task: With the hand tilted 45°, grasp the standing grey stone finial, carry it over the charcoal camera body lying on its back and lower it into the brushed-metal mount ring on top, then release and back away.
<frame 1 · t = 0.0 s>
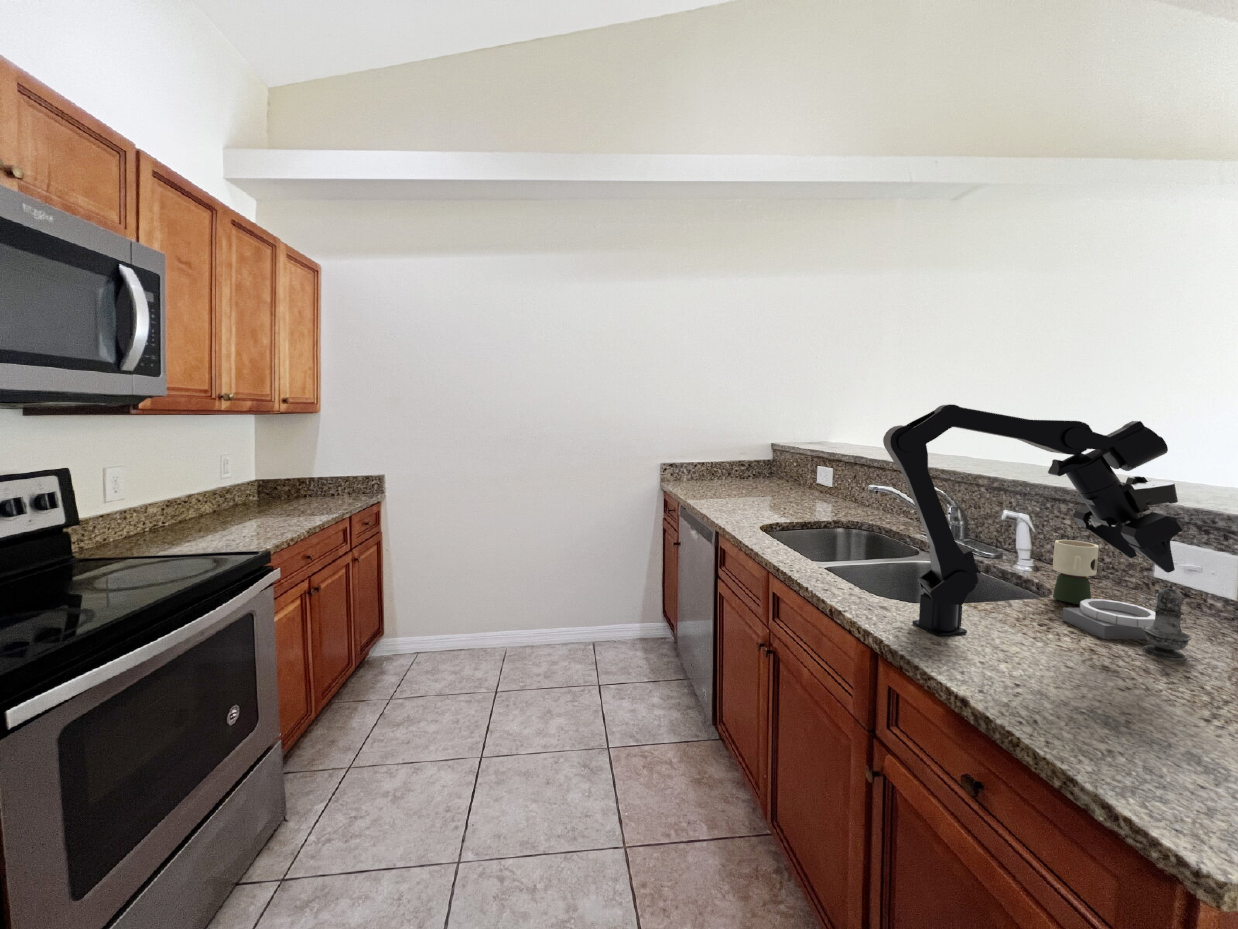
hand: (1151, 563, 91), 15 cm above the table, tool tilted 35°, fingers open, 9 cm apart
grey stone finial: (1164, 654, 90), on the table
character mug: (1071, 603, 115), on the table
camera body: (1116, 629, 100), on the table
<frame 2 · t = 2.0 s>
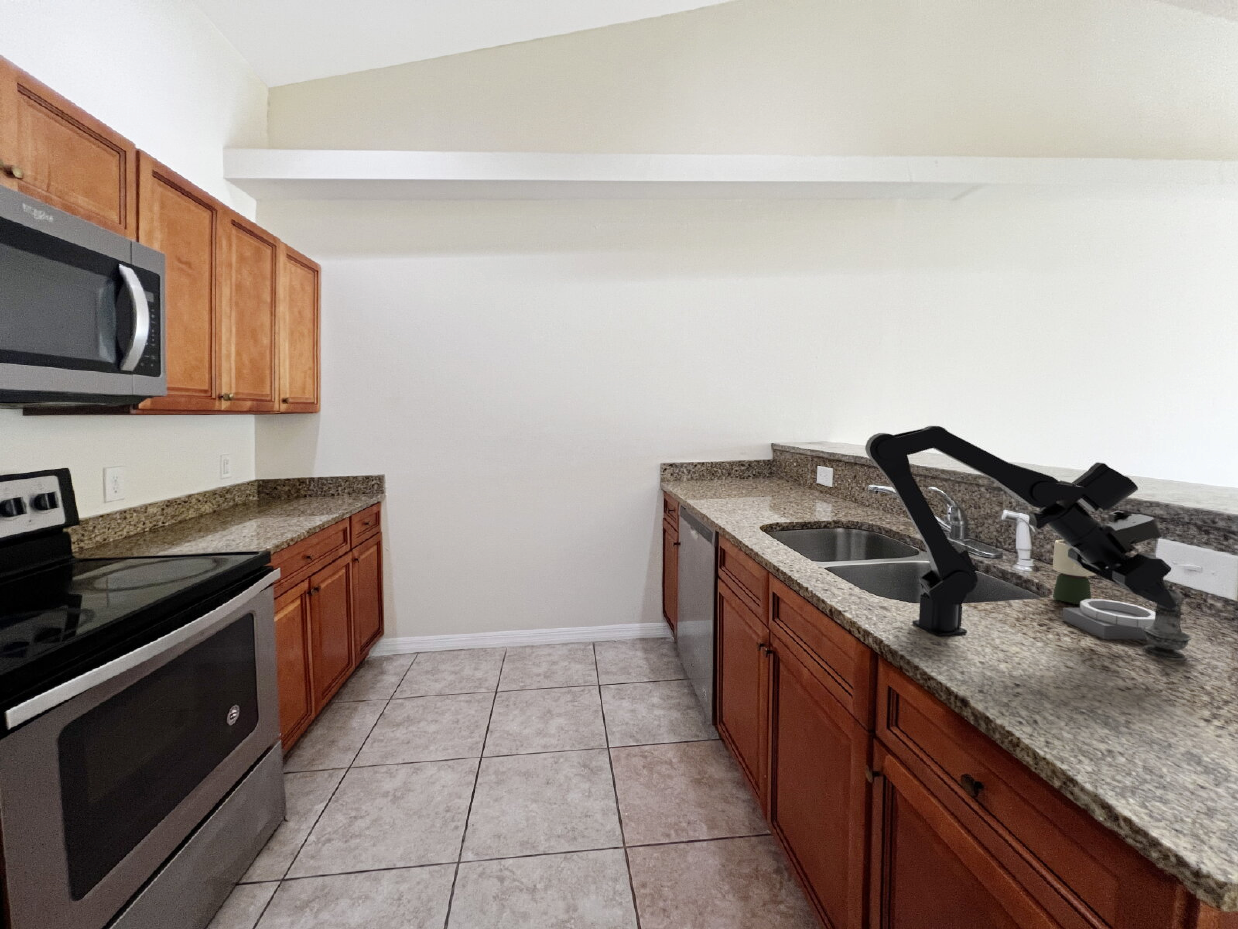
hand: (1154, 598, 90), 9 cm above the table, tool tilted 45°, fingers open, 9 cm apart
nothing on the table moved.
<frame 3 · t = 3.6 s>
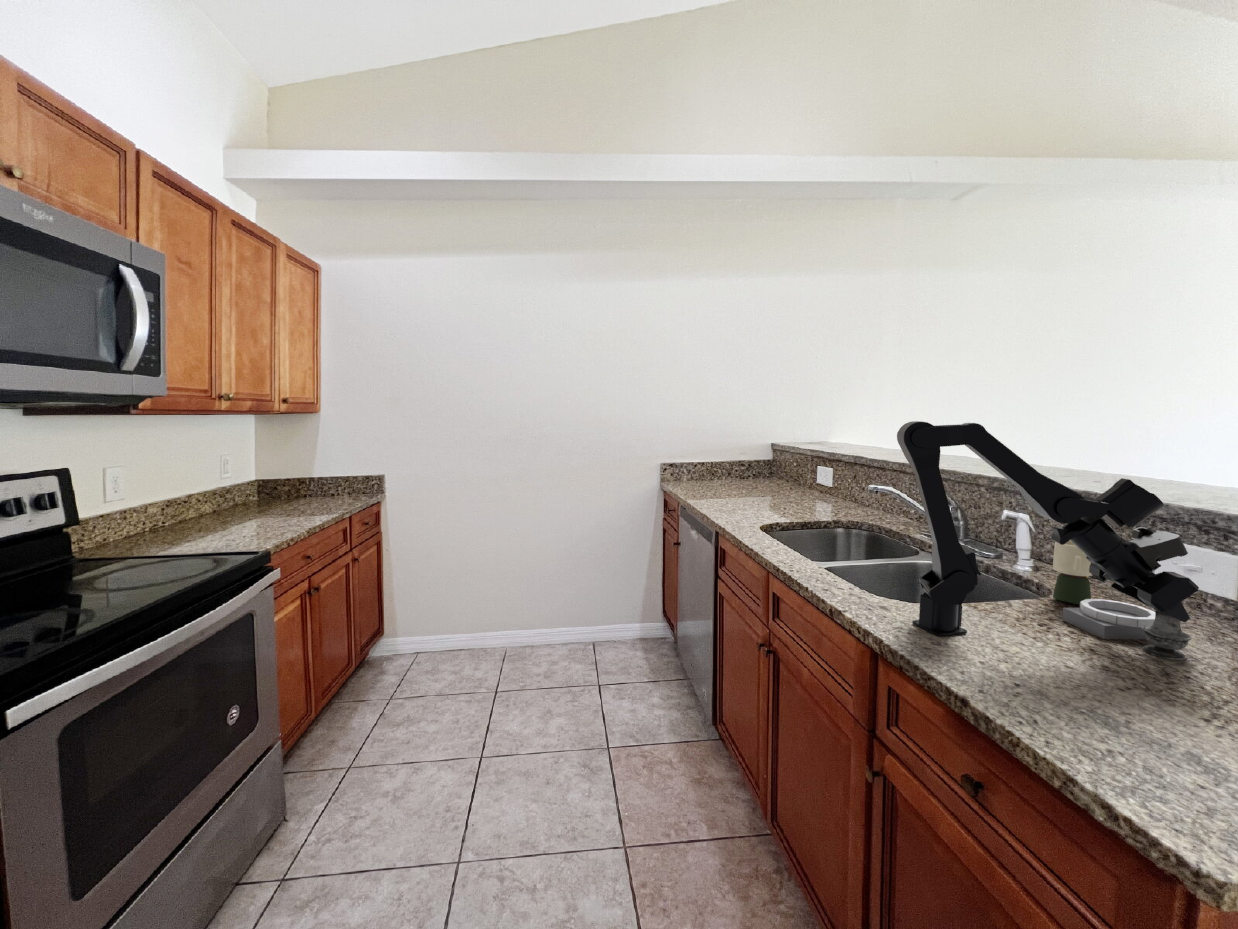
hand: (1178, 616, 89), 7 cm above the table, tool tilted 45°, fingers closed on grey stone finial, 3 cm apart
grey stone finial: (1164, 654, 90), on the table, touching gripper
everything else where it was.
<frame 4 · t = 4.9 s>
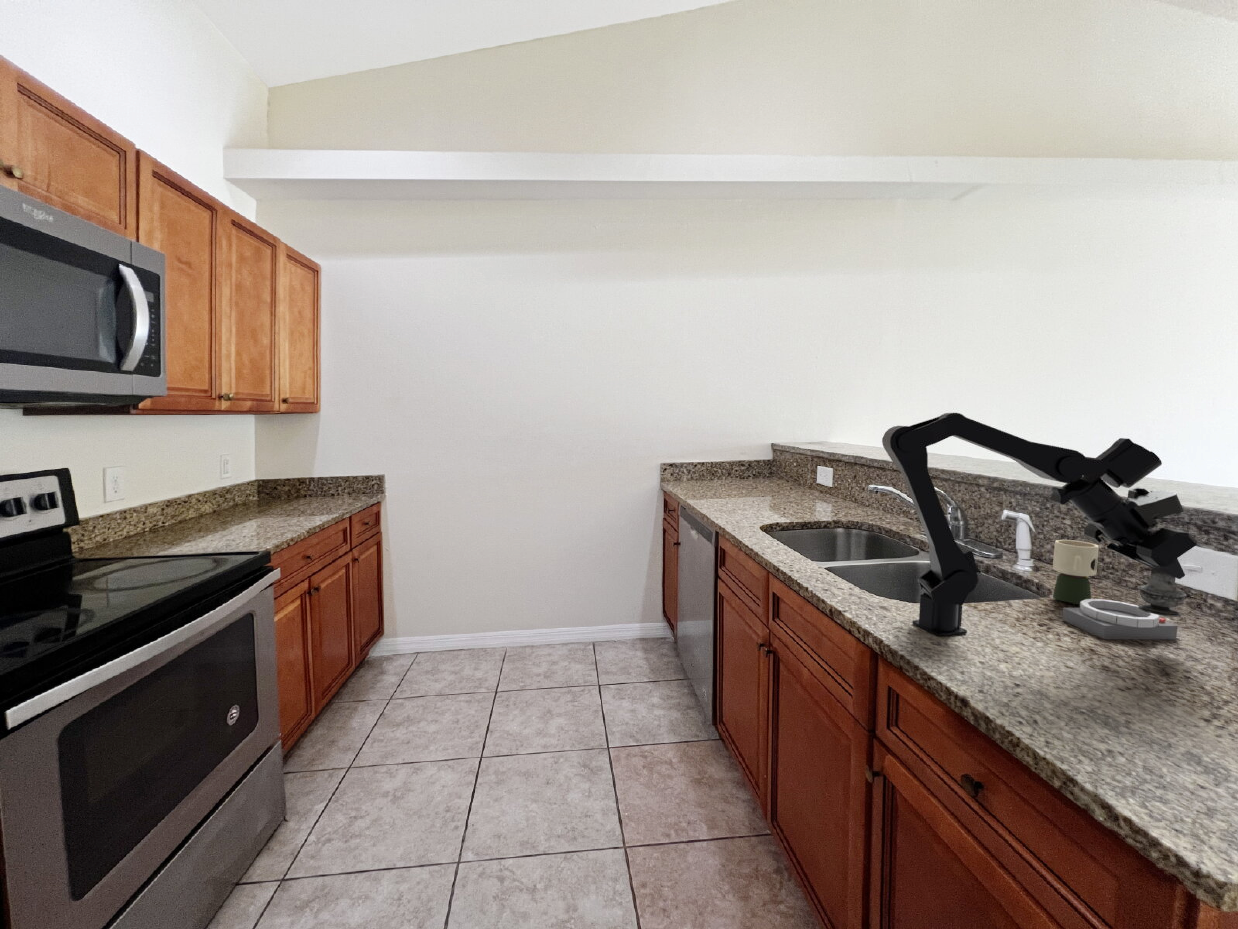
hand: (1172, 573, 90), 13 cm above the table, tool tilted 45°, fingers closed on grey stone finial, 4 cm apart
grey stone finial: (1159, 612, 91), point 6 cm above the table, touching gripper
everything else where it was.
when the fingers open (10 cm above the table, at t = 6.5 s): grey stone finial stays where it is, resting on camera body.
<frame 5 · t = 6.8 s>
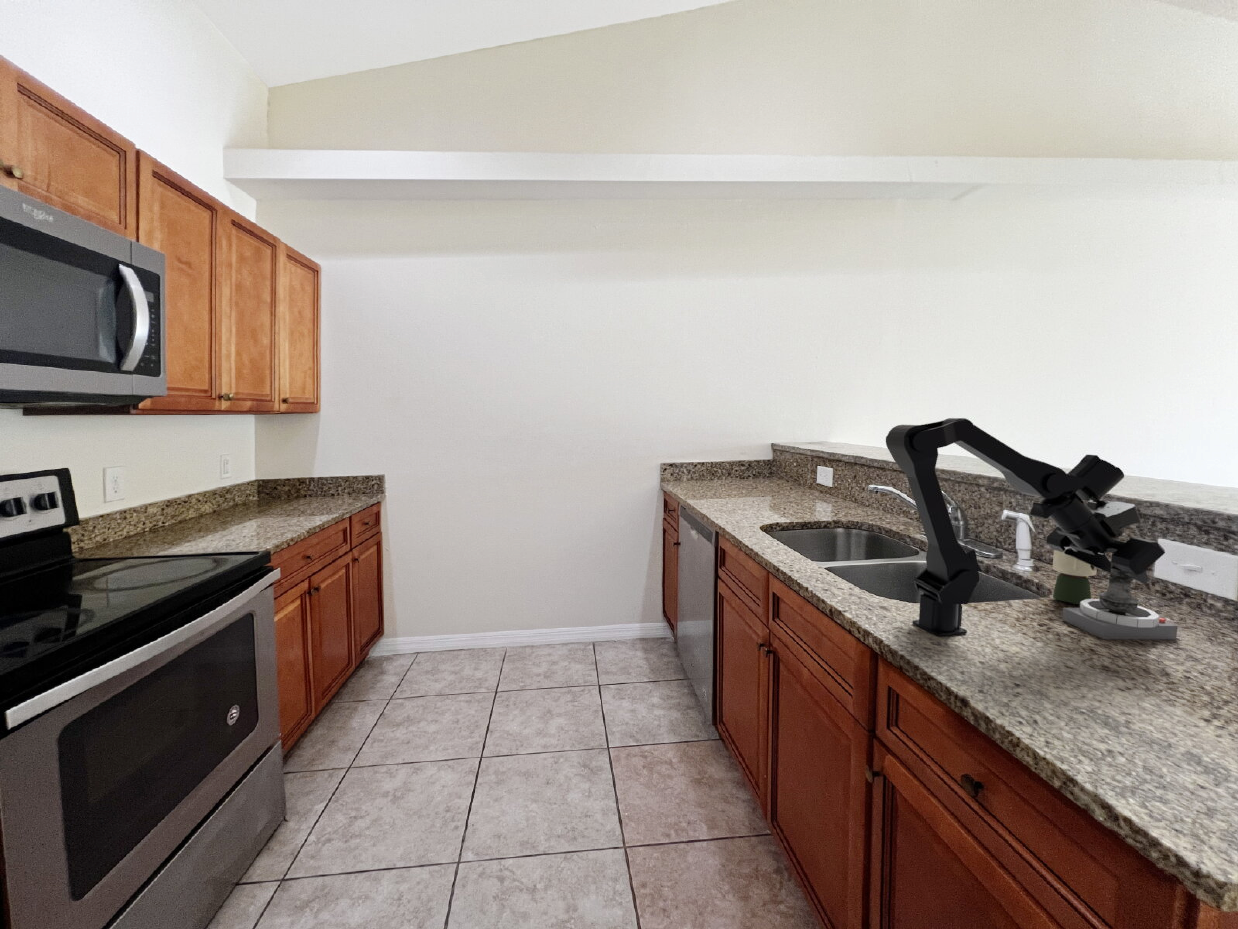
hand: (1128, 577, 99), 10 cm above the table, tool tilted 45°, fingers open, 6 cm apart
grey stone finial: (1116, 617, 100), point 2 cm above the table, touching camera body
everything else where it was.
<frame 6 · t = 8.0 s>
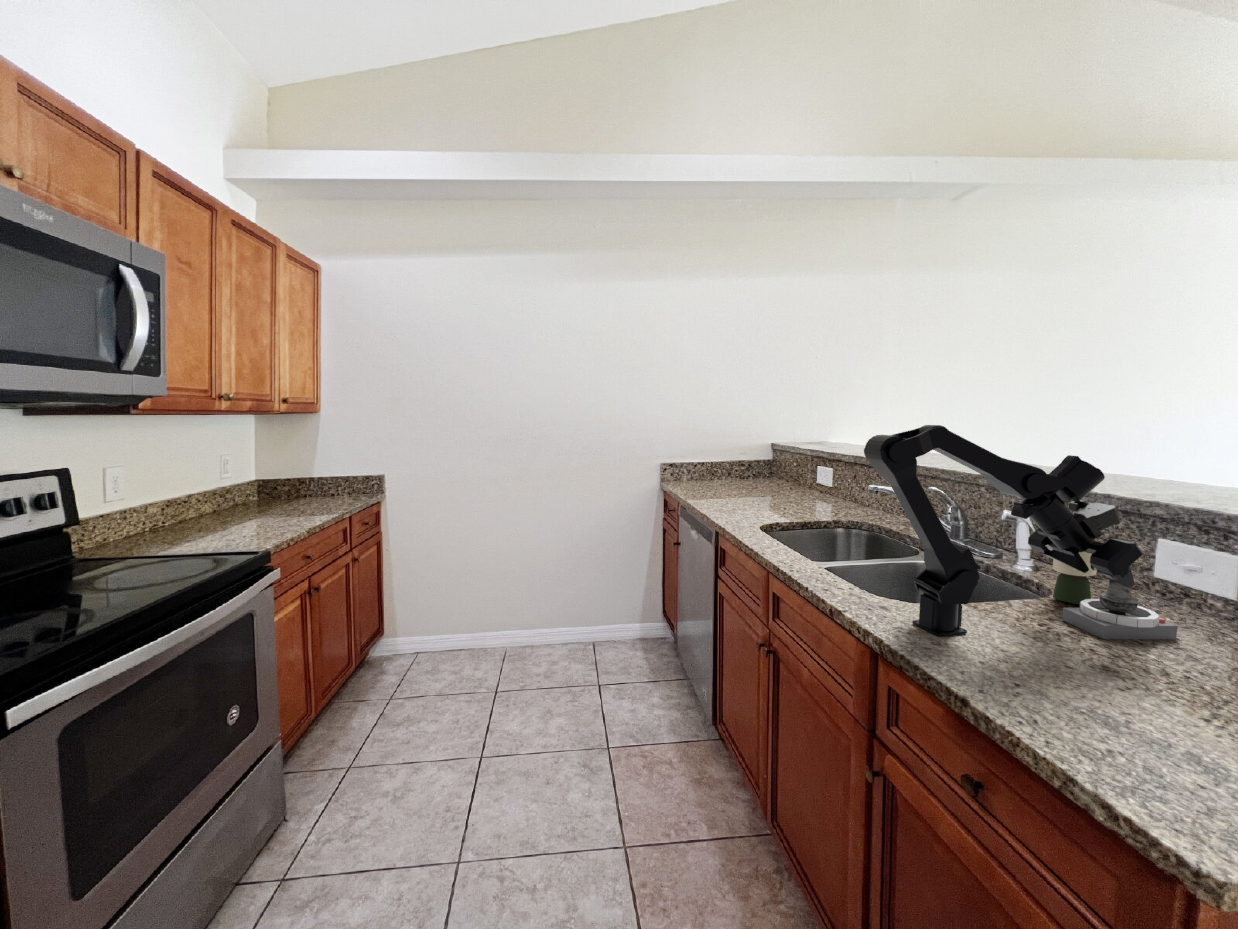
hand: (1108, 578, 99), 10 cm above the table, tool tilted 45°, fingers open, 9 cm apart
nothing on the table moved.
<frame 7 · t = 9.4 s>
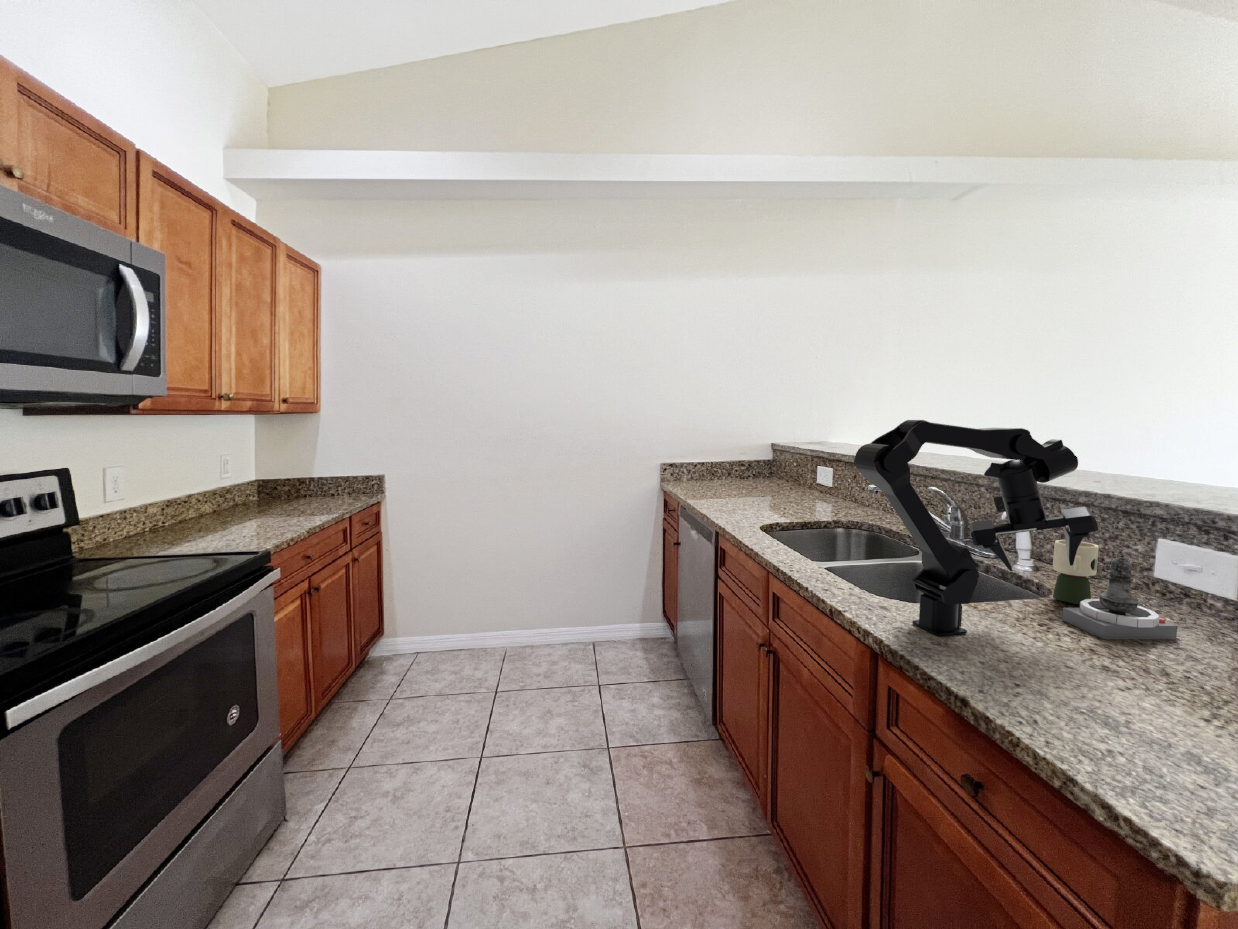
hand: (1040, 567, 102), 11 cm above the table, tool tilted 20°, fingers open, 9 cm apart
nothing on the table moved.
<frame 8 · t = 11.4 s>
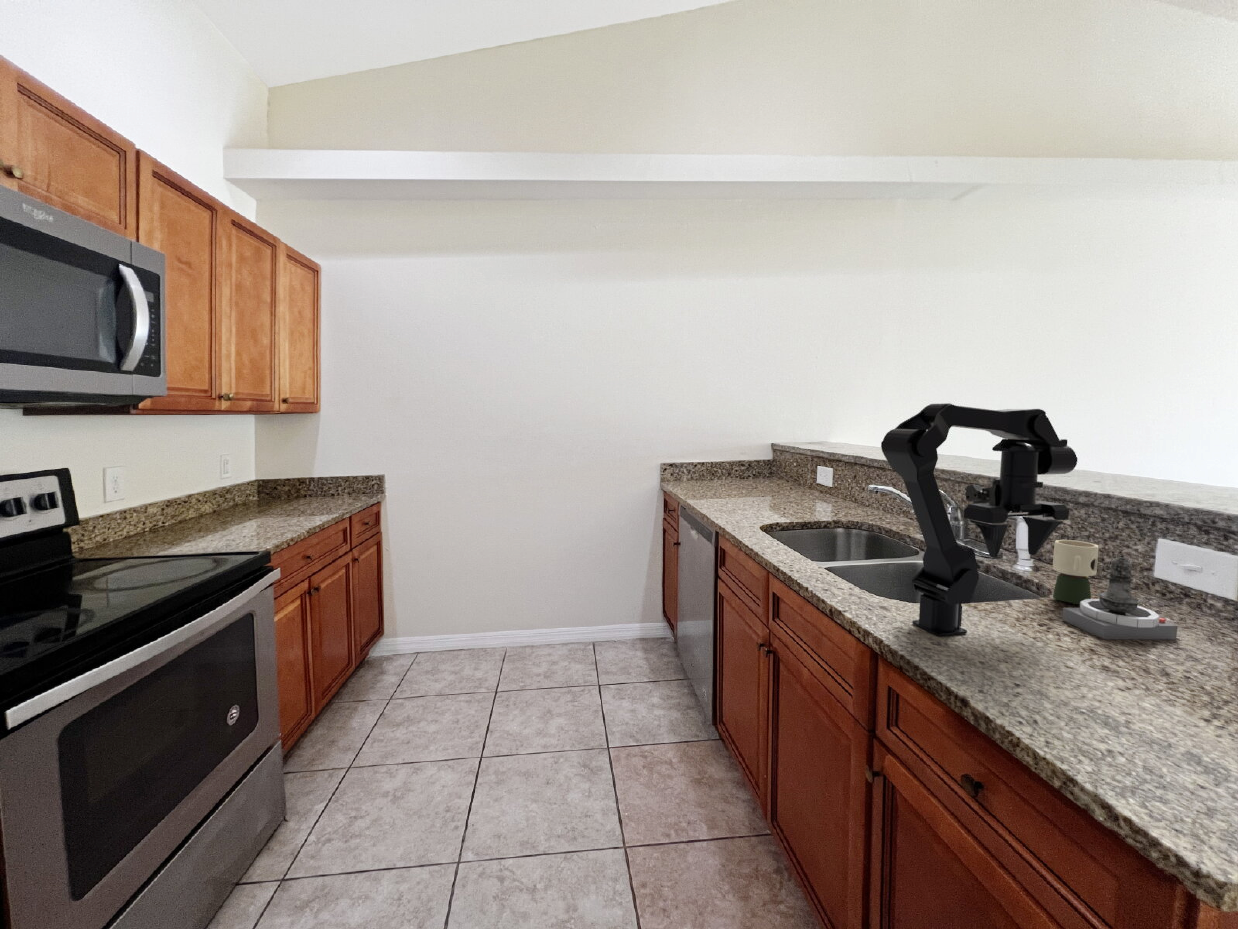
hand: (1012, 556, 103), 13 cm above the table, tool pointing down, fingers open, 9 cm apart
nothing on the table moved.
at the end: grey stone finial 0.2 cm off-centre on the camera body, point 2.3 cm above the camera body's base; grey stone finial tilted 0°; the gripper is holding nothing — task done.
